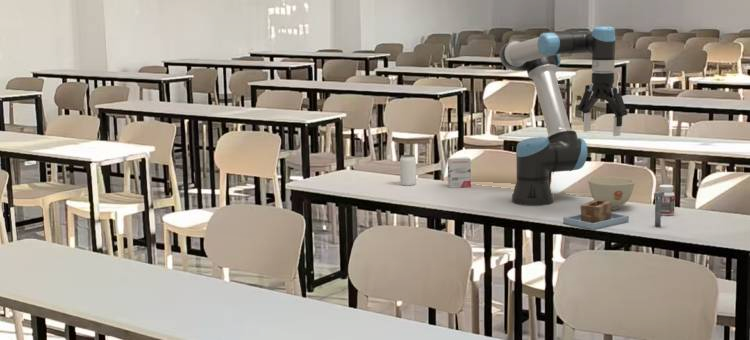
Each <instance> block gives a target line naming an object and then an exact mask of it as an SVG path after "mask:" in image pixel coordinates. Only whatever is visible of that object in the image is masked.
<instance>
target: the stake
mask: <svg viewBox="0 0 750 340" xmlns="http://www.w3.org/2000/svg"><path fill="white" fill-rule="evenodd" d="M661 196H664V192H660V191H657V192H654V193H653V197H654V198H655V200H654V201H655V205H654V207H655V208H654V209H655V210H654V227H655V226H656V227H655V228H661V221H662V220H661V219H662V217H661V216H662V215H661Z"/></svg>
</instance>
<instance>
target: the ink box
mask: <svg viewBox="0 0 750 340" xmlns="http://www.w3.org/2000/svg"><path fill="white" fill-rule="evenodd" d="M471 160H472V159H471V158H470V157H468V156H464V157H462V156H461V157H447V186H448V188H450V189H461V188H471V186H472V181H471V179H472V174H471V173H472V171H471V168H472V167H471V165H472V164H471Z"/></svg>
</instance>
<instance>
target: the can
mask: <svg viewBox="0 0 750 340" xmlns="http://www.w3.org/2000/svg"><path fill="white" fill-rule="evenodd" d="M416 162H417V161H416V156H415V154H402V155H400V158H399V180H400V181H399V182H400V183H399V184H400V185H401V186H404V187H410V186H411V187H413V186H415V185H416V184H417V165H416V164H417V163H416Z"/></svg>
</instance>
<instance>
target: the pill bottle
mask: <svg viewBox="0 0 750 340" xmlns="http://www.w3.org/2000/svg"><path fill="white" fill-rule="evenodd" d="M658 190H659V192H664V196H661V216H666V217H667V216H673V215H675V197H676V195H675V192H673V191H674V185H671V184H660V185H659V187H658Z"/></svg>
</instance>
